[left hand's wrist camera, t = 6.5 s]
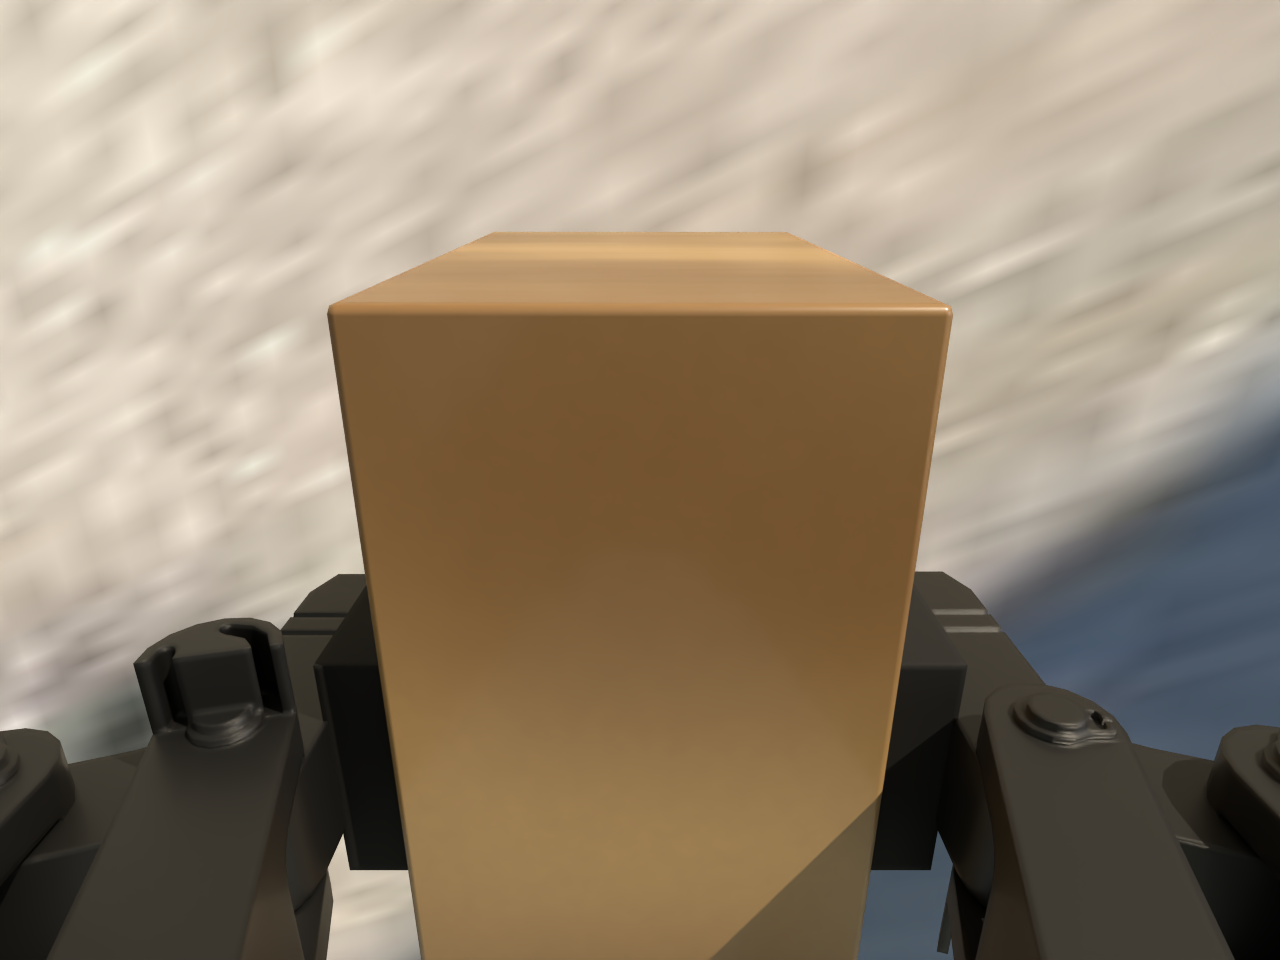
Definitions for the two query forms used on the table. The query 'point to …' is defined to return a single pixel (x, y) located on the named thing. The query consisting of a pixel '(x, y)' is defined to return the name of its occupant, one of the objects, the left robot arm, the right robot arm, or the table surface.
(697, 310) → the beam
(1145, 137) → the table surface
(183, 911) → the left robot arm
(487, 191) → the table surface
